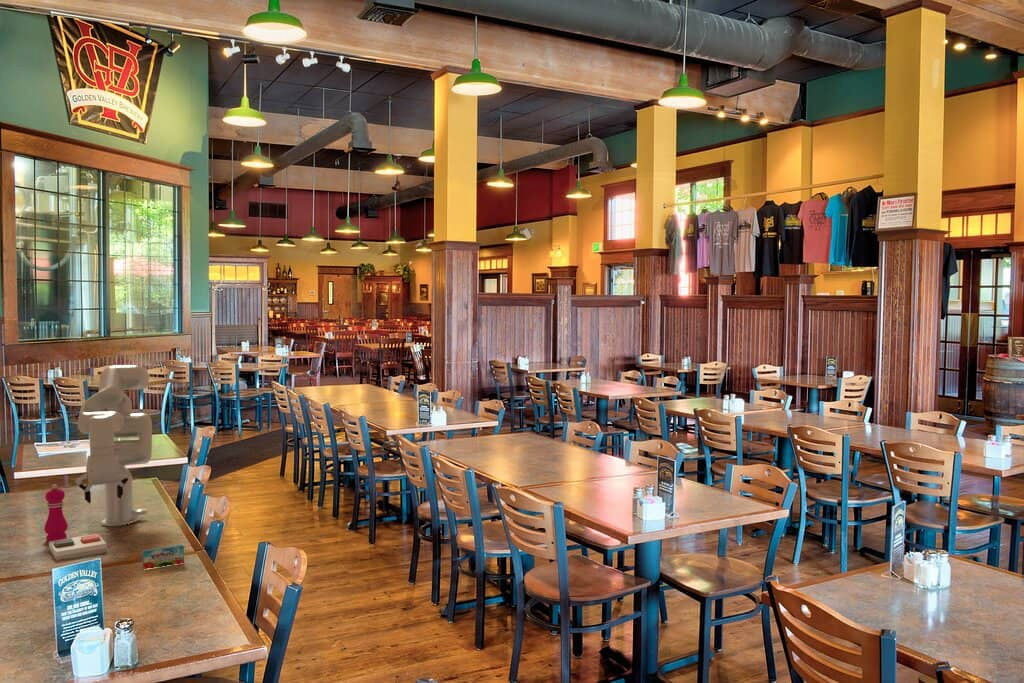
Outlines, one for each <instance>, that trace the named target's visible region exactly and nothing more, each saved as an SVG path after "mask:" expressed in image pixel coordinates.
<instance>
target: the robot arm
mask: <svg viewBox="0 0 1024 683" xmlns="http://www.w3.org/2000/svg"><path fill="white" fill-rule="evenodd" d="M149 376H150V375H149V372H148V370H147V369H146V368H145V367H144V366H141V365H138V364H136V365H135V364H126V365H124V364H122V365H118V364H117V365H110V366H107V367H106V368H104V369H103V370H102V371H101V372H100V375H99V386H98V392H96V393H94V394H92V395H91V396H89V397H88V398H87V399H86V400H85V401H84V402H83V403H82V405H81V407H80V410H79V413H78V414H79V415H78V420H77V428H78V431H79V432H80V433H82V434H85V435H86V434H87V435H88V434H89V450H90V451H89V452H90V453H89V454H90V455H87V459H86V464H85V465H86V467H85V468H86V469H85V473H84V474H81V476H79V477H77V478H75V480H74V481H75V483H76V484H77V486H78V487H79V488H80V489H82V491H84V501H86V502H87V503H88V504H90V503H91V502H92V500H91V499H92V498H91V496H92V495H91V491H90V489H91V488H92V487H93V486H99V485H100V486H101V485H104V498H105V499H104V500H105V503H104V504H105V508H104V509H105V518H104V519H102V520H101V522H100V524H101V526H104V527H122V525H123V526H127V525H126V524H128V525H131V524H130V523H132V524H134V523H133V522H135V523H137V522H138V516H143V515H147V509H142V508H141V509H140V508H139V509H135V508H134V502H133V501H134V496H133V495H134V494H133V476H132V473H131V472H130V470H129V469H128V468H127V467H126V466H134V465H135V466H136V465H145V464H148V463H149V462H150V461H151V459H152V453H153V451H152V450H153V448H152V447H153V422H152V418H151V416H150V414H148V413H145V412H135V413H132V412H133V411H132V410H133V409H132V408H133V402H132V400H131V399H130V398H129V397H128V395H127V394H126V393H125V391H128V390H131V391H132V390H144V389H147V387H148V385H149V382H150V377H149ZM104 410H107V411H104ZM135 438H137V439H135ZM115 439H119V440H115ZM120 439H124V440H120ZM126 439H127V440H126ZM83 480H86V484H85V485H84V484H83V482H82V481H83Z"/></svg>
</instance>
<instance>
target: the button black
mask: <svg viewBox="0 0 1024 683" xmlns="http://www.w3.org/2000/svg"><path fill="white" fill-rule="evenodd" d="M71 538H72V537H69V539H68V538H66V539H63V540H57V541H54V542H55V548H61V547H67V546H73V545H74V541H73V540H72V539H71Z"/></svg>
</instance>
